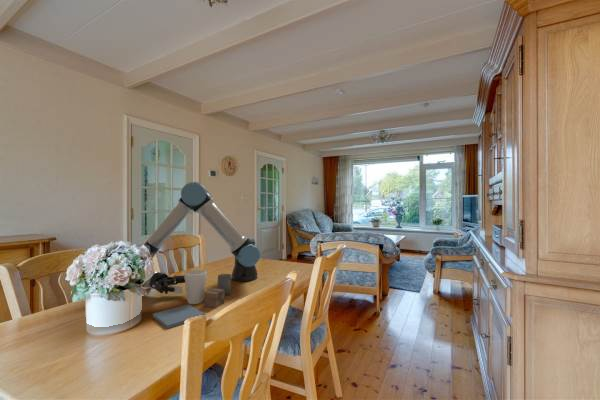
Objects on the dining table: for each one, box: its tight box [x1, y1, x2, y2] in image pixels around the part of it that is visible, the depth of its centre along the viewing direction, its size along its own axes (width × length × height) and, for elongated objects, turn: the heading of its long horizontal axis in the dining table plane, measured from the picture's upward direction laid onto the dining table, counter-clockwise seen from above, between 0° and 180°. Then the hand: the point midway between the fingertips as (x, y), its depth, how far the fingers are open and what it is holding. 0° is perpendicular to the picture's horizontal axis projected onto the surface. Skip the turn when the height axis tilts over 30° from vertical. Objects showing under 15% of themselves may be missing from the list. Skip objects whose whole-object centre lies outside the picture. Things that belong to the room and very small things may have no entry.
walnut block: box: [203, 287, 225, 309], centre depth 118 cm, size 6×6×6 cm
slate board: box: [152, 303, 206, 330], centre depth 105 cm, size 14×14×1 cm
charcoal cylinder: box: [217, 273, 232, 297], centre depth 131 cm, size 6×6×9 cm
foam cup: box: [183, 269, 208, 305], centre depth 121 cm, size 10×9×13 cm
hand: (192, 285), depth 121 cm, fingers open, 13 cm apart
